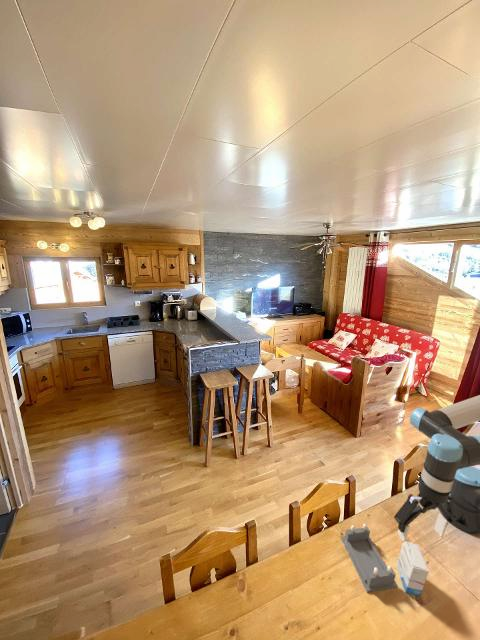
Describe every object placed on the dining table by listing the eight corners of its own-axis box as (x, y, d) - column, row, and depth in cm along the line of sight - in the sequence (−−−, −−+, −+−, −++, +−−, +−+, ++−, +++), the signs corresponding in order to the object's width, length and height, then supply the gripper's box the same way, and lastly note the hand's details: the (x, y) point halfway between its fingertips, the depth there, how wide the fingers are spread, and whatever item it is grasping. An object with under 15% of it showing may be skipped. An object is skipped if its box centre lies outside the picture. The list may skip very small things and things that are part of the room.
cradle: (366, 534, 105) (369, 520, 103) (396, 587, 89) (401, 571, 87) (341, 538, 103) (343, 523, 101) (367, 592, 87) (370, 576, 85)
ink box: (421, 597, 87) (429, 571, 83) (405, 592, 88) (412, 567, 84) (411, 567, 95) (417, 543, 92) (395, 563, 96) (402, 539, 93)
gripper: (459, 469, 86) (443, 519, 91) (389, 476, 82) (377, 527, 88) (482, 490, 78) (464, 542, 84) (407, 498, 75) (393, 552, 80)
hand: (420, 535), depth 86 cm, fingers open, 13 cm apart
